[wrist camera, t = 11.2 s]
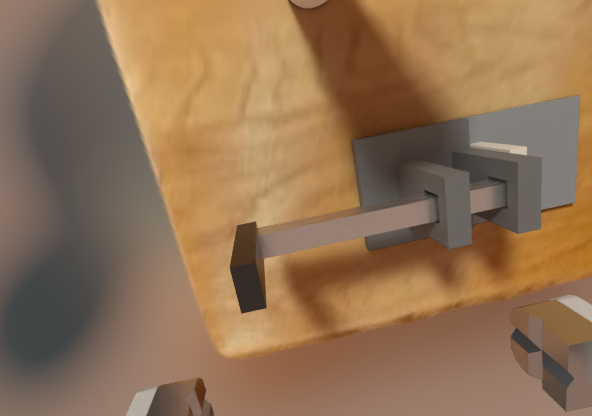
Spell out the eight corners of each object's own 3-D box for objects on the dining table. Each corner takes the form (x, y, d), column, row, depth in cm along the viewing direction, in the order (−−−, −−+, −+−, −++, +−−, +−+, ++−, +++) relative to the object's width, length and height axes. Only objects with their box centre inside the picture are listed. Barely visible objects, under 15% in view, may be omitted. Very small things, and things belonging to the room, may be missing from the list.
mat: (576, 95, 37) (579, 95, 36) (572, 201, 40) (575, 202, 39) (461, 118, 36) (464, 118, 35) (466, 224, 39) (468, 225, 39)
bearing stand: (461, 118, 36) (542, 118, 26) (466, 224, 39) (540, 261, 29) (351, 139, 35) (389, 148, 25) (365, 246, 38) (405, 292, 28)
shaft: (493, 171, 30) (582, 191, 22) (494, 206, 31) (579, 237, 23) (237, 225, 29) (229, 268, 21) (245, 259, 30) (241, 313, 21)
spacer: (480, 141, 36) (526, 146, 30) (482, 199, 38) (526, 214, 32) (466, 144, 36) (509, 150, 30) (469, 201, 38) (510, 218, 32)
